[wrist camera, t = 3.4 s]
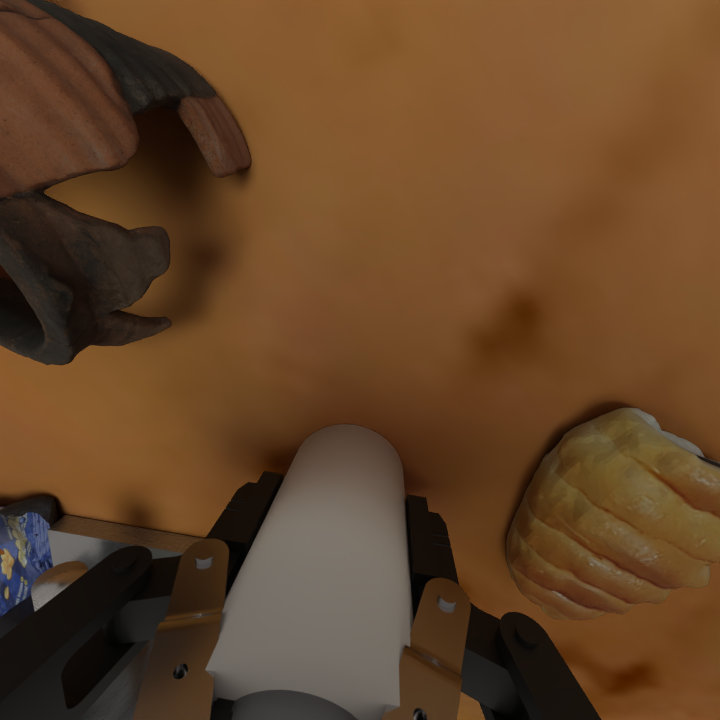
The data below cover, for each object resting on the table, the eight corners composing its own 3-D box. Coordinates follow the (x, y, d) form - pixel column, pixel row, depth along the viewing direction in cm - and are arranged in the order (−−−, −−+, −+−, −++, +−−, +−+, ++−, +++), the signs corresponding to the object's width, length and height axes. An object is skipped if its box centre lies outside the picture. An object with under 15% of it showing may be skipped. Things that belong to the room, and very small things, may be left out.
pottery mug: (319, 225, 13) (152, 362, 7) (193, 294, 19) (41, 403, 13) (37, -268, 8) (-1325, -1117, 2) (-24, 33, 13) (-447, 23, 8)
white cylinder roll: (412, 433, 15) (456, 764, 5) (394, 528, 16) (401, 929, 6) (297, 415, 15) (127, 701, 5) (289, 511, 16) (145, 873, 7)
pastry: (582, 603, 17) (636, 700, 13) (461, 543, 16) (481, 624, 13) (729, 456, 14) (850, 526, 10) (589, 380, 14) (661, 424, 10)
